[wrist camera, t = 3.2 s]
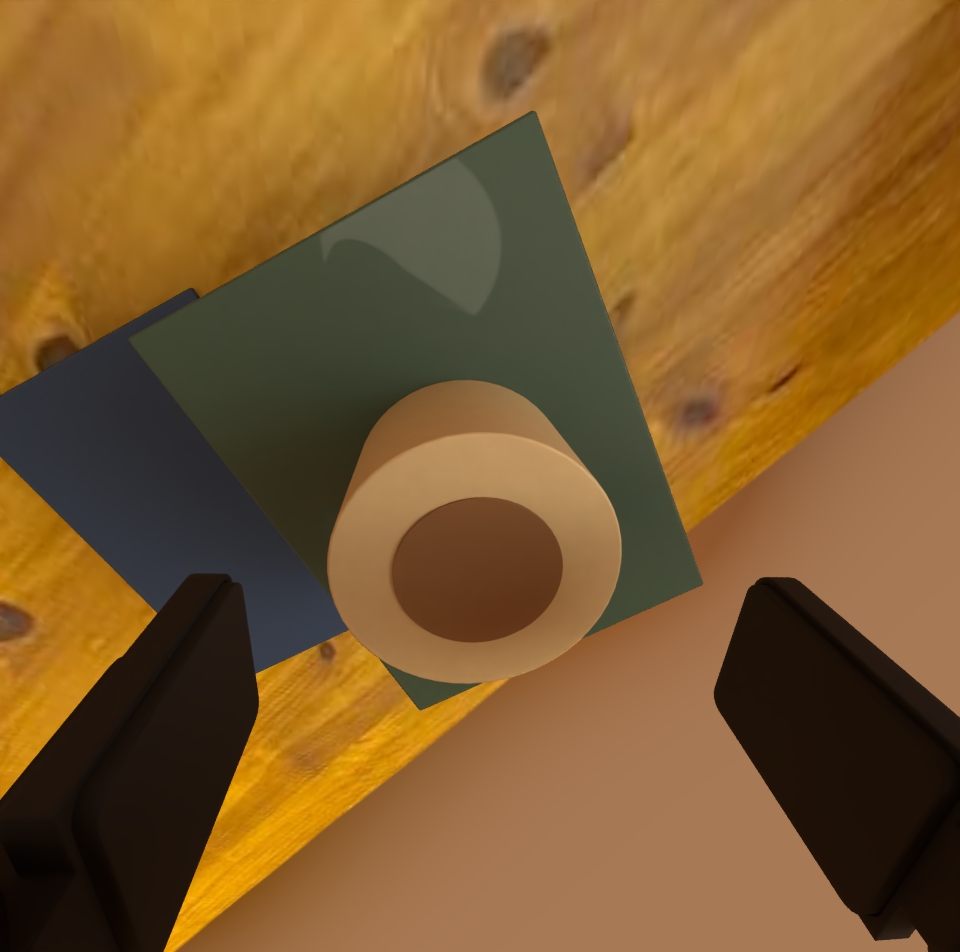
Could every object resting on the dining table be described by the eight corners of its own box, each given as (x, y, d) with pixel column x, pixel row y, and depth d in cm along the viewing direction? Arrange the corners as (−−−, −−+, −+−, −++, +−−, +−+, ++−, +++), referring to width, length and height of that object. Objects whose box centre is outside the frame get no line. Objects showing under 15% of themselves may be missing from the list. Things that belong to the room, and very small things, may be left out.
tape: (422, 599, 17) (420, 724, 12) (314, 442, 14) (260, 525, 10) (594, 518, 16) (660, 617, 12) (514, 339, 14) (558, 374, 9)
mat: (232, 682, 31) (230, 685, 31) (-34, 415, 23) (-40, 417, 23) (409, 598, 30) (409, 601, 30) (192, 287, 22) (189, 288, 22)
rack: (422, 560, 29) (419, 712, 19) (257, 308, 23) (125, 339, 13) (606, 472, 28) (704, 585, 18) (486, 181, 22) (535, 107, 12)
